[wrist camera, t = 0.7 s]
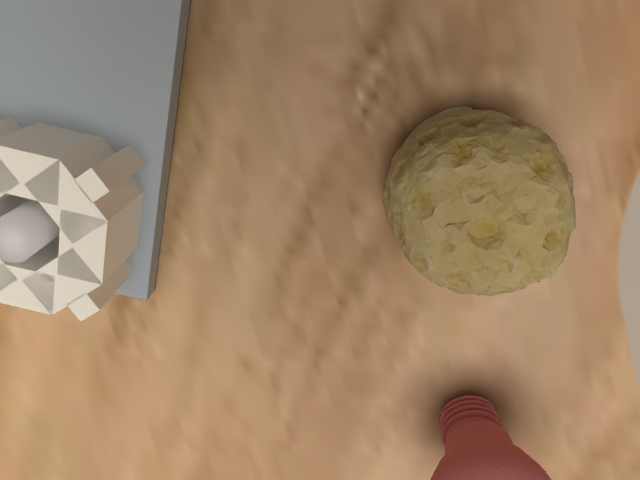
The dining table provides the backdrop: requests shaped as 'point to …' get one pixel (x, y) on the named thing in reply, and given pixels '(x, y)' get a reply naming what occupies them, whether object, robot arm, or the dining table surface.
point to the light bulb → (480, 445)
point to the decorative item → (480, 201)
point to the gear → (70, 216)
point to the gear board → (96, 101)
